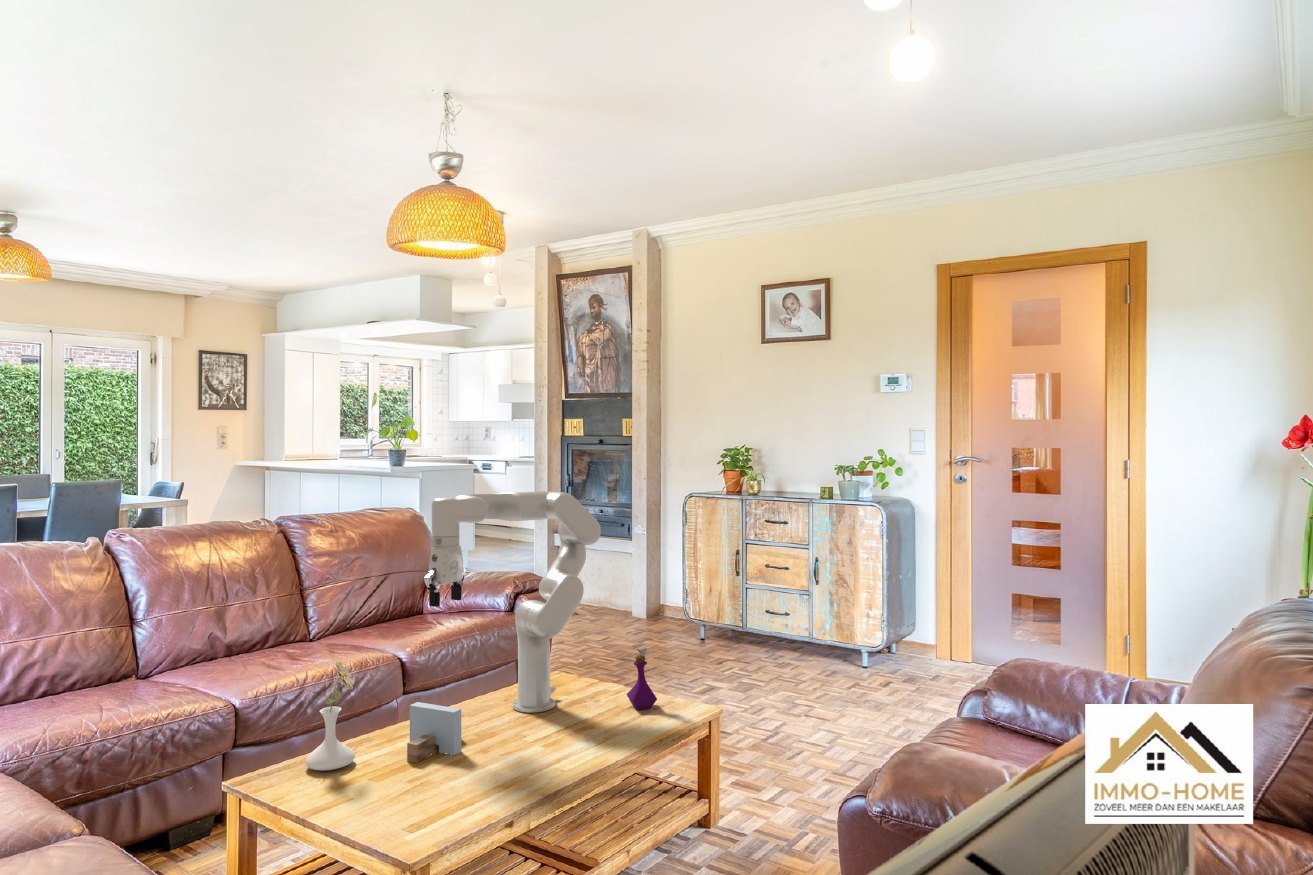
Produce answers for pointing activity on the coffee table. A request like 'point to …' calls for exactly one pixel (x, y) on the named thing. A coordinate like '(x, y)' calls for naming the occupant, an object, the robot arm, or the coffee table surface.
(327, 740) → the flower in vase
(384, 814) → the coffee table surface
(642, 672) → the perfume bottle
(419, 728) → the blue grey notched plate
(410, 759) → the brown notched bar
